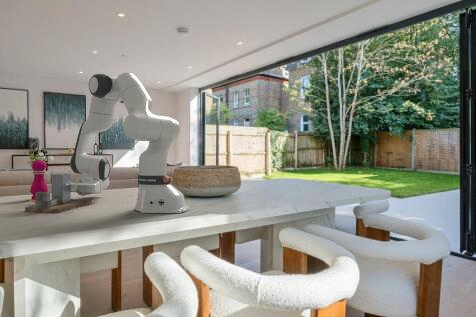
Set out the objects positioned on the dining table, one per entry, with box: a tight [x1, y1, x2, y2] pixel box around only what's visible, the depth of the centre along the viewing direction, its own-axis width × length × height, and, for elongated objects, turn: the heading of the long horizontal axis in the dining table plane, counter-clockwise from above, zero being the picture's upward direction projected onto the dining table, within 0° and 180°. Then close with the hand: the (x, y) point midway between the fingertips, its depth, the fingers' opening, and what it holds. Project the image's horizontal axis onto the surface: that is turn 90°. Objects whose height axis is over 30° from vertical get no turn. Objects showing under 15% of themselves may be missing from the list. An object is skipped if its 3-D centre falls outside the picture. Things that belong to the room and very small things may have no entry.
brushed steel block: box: [50, 172, 72, 206], centre depth 135 cm, size 5×10×12 cm, turn 172°
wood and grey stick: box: [28, 199, 52, 206], centre depth 130 cm, size 9×2×2 cm, turn 82°
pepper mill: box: [29, 156, 49, 200], centre depth 155 cm, size 7×7×20 cm
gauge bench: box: [24, 191, 93, 214], centre depth 137 cm, size 14×22×8 cm, turn 172°
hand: (65, 189), depth 140 cm, fingers closed, pressing on brushed steel block
